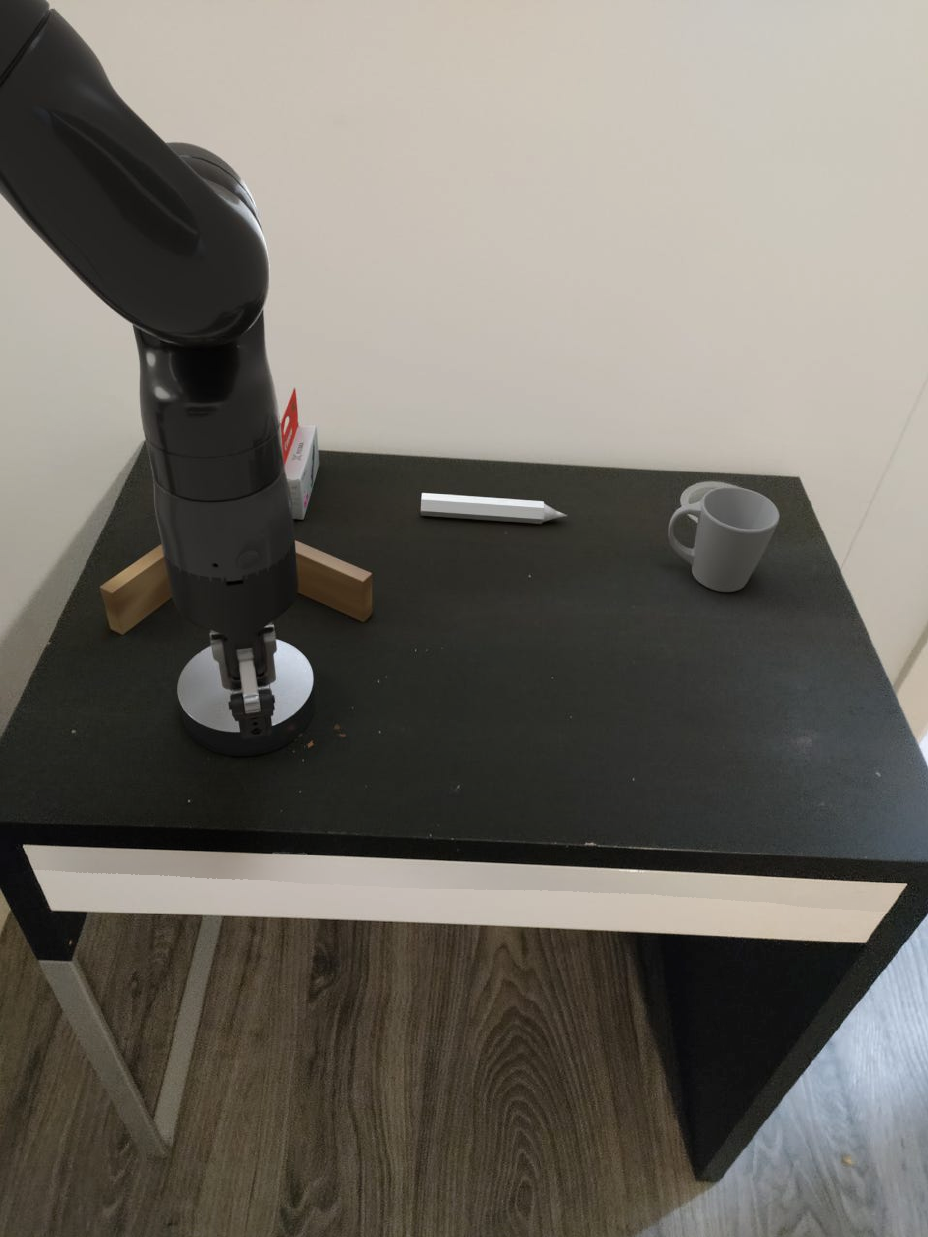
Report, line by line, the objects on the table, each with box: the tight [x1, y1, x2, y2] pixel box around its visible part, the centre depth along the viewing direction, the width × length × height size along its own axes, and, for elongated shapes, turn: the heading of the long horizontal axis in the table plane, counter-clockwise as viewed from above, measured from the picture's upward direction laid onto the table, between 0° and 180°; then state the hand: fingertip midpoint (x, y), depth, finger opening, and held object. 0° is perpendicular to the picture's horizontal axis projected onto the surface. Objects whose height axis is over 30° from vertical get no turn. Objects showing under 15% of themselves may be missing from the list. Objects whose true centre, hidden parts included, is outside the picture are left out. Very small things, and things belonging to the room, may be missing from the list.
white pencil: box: [420, 492, 569, 525], centre depth 100 cm, size 3×2×16 cm
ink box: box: [280, 387, 320, 521], centre depth 99 cm, size 2×11×10 cm, turn 178°
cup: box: [668, 486, 780, 593], centre depth 93 cm, size 8×10×8 cm
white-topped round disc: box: [176, 638, 316, 758], centre depth 78 cm, size 11×11×3 cm
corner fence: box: [99, 539, 373, 636], centre depth 85 cm, size 15×18×5 cm
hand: (256, 730), depth 65 cm, fingers closed
